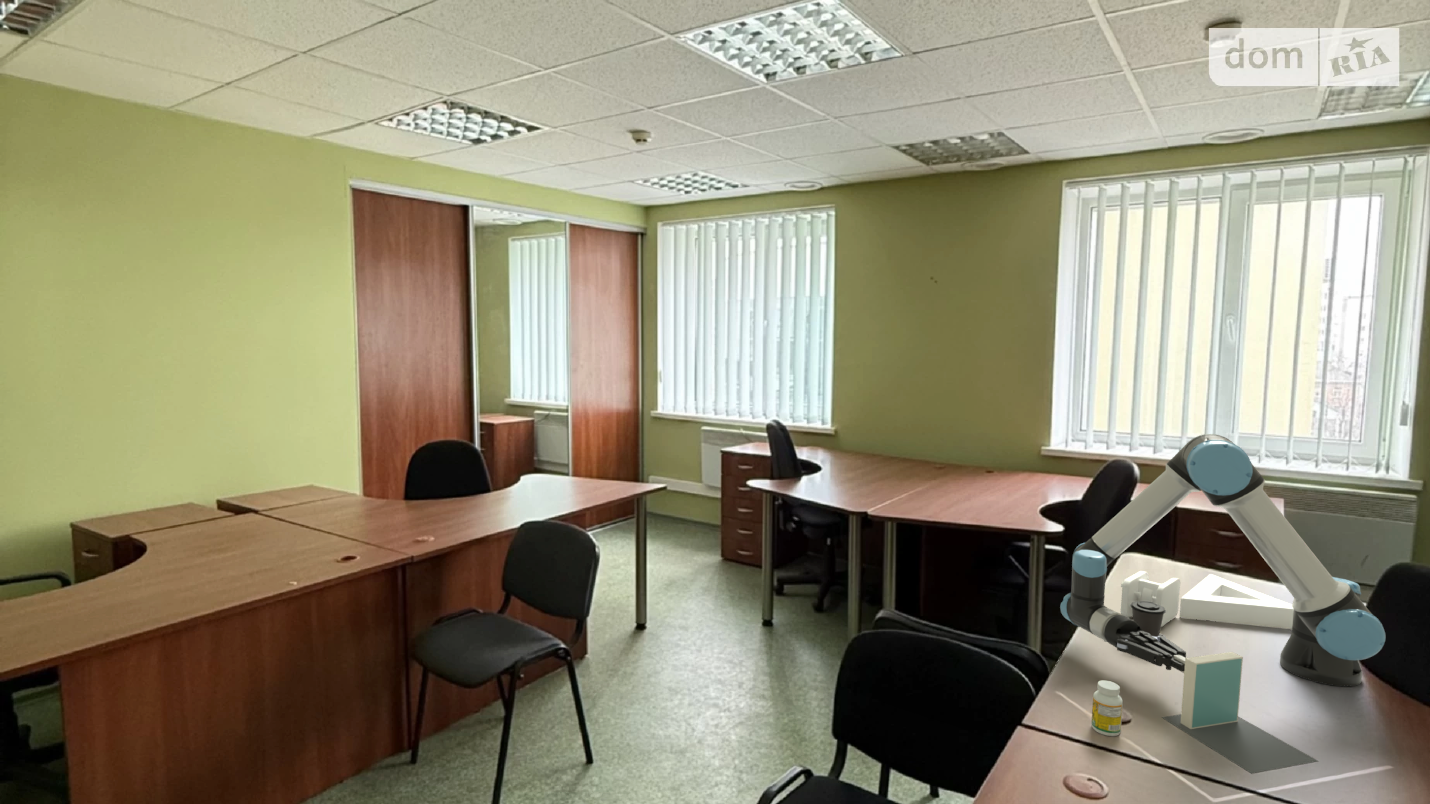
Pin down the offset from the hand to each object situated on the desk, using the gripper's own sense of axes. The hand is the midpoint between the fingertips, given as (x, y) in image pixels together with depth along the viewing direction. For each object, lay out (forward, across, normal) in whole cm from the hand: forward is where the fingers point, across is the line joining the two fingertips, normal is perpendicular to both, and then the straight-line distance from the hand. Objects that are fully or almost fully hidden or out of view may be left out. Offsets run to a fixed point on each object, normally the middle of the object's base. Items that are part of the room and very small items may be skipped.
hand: (1202, 674), depth 154 cm
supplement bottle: (-1, +22, -10) cm, 24 cm away
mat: (+8, 0, -10) cm, 13 cm away
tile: (+2, 0, -9) cm, 10 cm away
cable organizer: (-47, -33, -10) cm, 59 cm away
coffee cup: (-35, -20, -10) cm, 42 cm away
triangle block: (-49, -61, -11) cm, 79 cm away
